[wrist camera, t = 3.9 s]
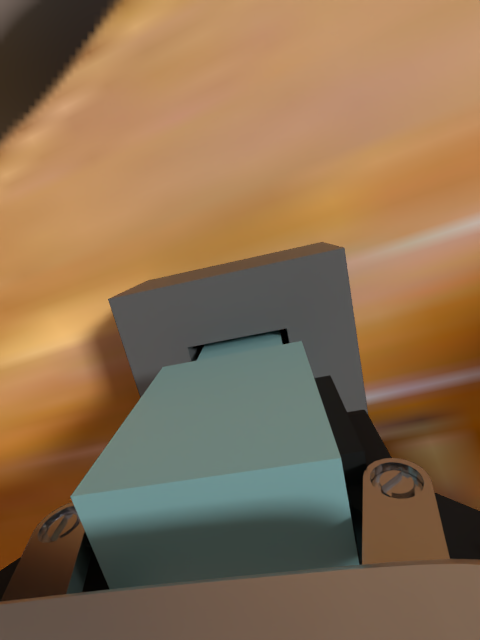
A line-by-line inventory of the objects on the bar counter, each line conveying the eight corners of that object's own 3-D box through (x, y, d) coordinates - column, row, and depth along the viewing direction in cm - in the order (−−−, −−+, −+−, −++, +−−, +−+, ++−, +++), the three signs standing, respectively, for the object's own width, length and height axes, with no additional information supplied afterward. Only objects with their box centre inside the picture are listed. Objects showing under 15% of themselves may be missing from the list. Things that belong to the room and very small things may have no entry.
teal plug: (289, 304, 17) (341, 458, 6) (306, 393, 18) (376, 663, 7) (193, 323, 17) (70, 496, 6) (216, 408, 19) (147, 678, 7)
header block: (322, 242, 18) (408, 264, 7) (368, 534, 23) (459, 798, 12) (146, 280, 19) (4, 348, 9) (226, 551, 24) (199, 804, 14)
